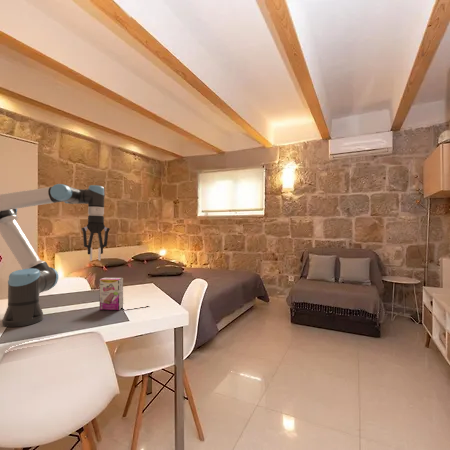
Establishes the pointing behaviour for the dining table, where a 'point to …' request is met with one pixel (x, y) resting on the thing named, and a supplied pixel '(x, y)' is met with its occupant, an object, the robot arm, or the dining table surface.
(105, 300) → the candy bar box
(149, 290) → the dining table surface
